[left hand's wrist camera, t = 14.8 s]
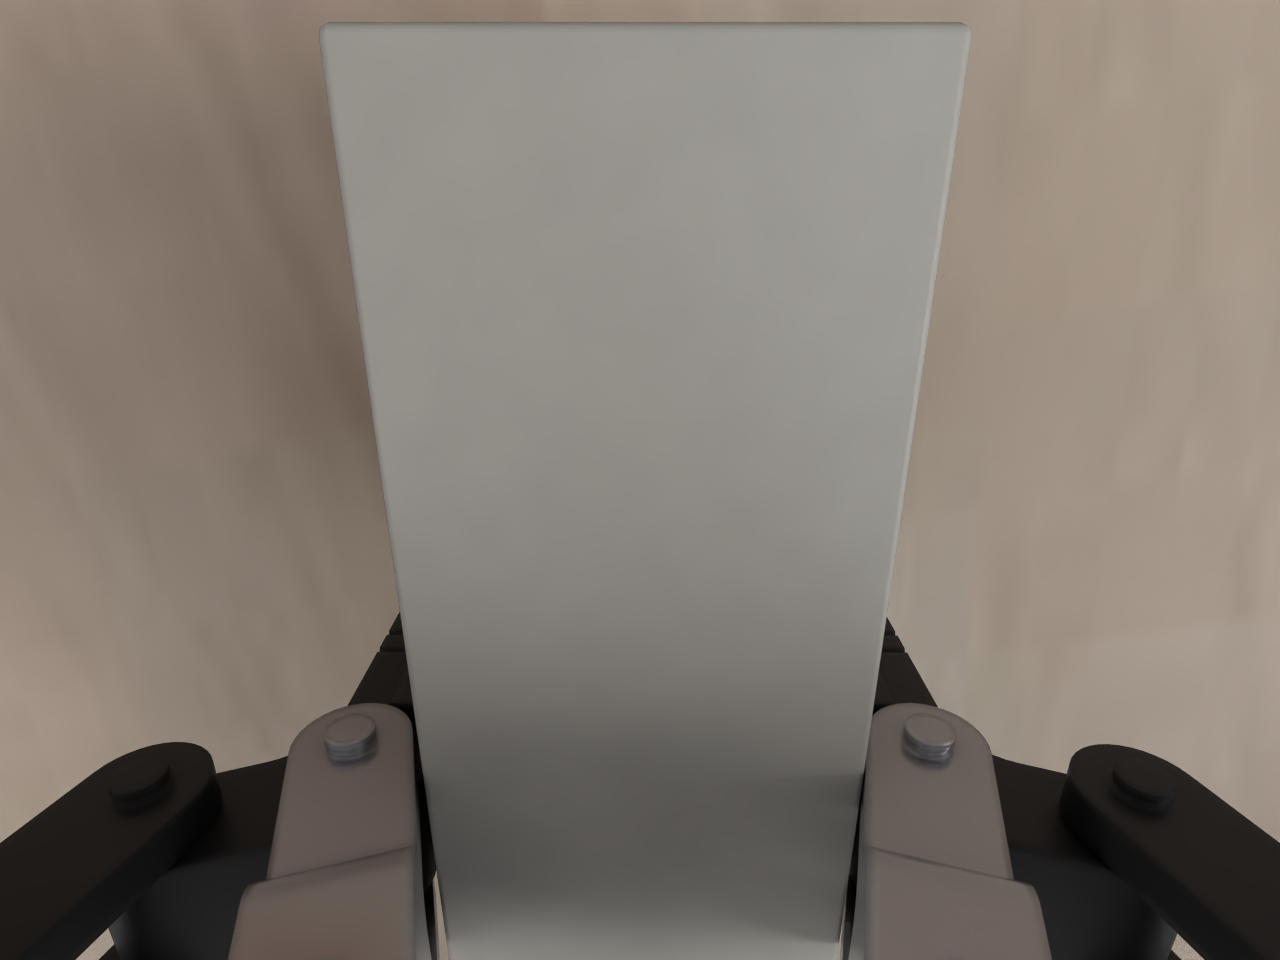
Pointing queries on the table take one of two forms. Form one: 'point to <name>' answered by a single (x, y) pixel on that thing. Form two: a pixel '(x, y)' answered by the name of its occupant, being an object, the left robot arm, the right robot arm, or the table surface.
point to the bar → (644, 450)
